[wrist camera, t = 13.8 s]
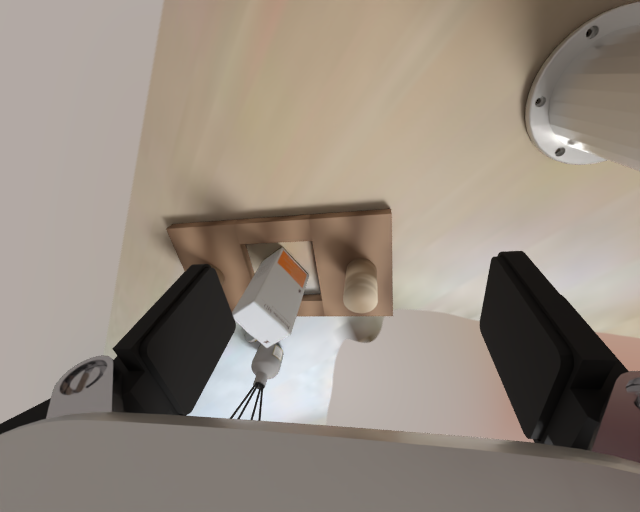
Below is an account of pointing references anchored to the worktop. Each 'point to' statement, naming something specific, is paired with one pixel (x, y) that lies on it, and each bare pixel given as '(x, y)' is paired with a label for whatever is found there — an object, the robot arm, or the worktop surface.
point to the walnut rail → (329, 249)
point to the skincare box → (272, 299)
